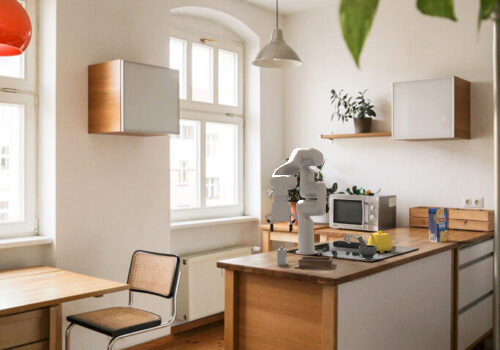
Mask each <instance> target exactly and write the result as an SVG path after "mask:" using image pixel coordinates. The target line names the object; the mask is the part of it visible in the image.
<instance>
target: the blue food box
mask: <svg viewBox="0 0 500 350" xmlns="http://www.w3.org/2000/svg"><path fill="white" fill-rule="evenodd" d="M427 210H428V212H427V213H428V216H427V217H428V242H433V243H441V242H447V241H448V208H447V207H431V208H428V209H427Z"/></svg>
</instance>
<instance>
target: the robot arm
mask: <svg viewBox="0 0 500 350" xmlns="http://www.w3.org/2000/svg"><path fill="white" fill-rule="evenodd" d="M323 163H324V155H323V153H322V151H320V150H318V149H316V148H313V147H304V148H302V147H301V148H299V147H298V148H295V149H294V150H293V151H292V153H291V154H290V156H289V159H288V161H287V162H286V163H284V164H283V165H281V166H278V167H277V168H276V169H275V170H274V172H273V174H272V175H271V178H270V182H269V184H270V187H271V188H272V189H273V201H272V204H271V212H270V213H268V214H266V215H265V216H264V218H265V220H266V222H267V223H268V224H269V230H270V233H273V232H274V230H275V229H274V228H275V227H274V222H288V223H289V225H288V226H289V228H288V231H289V232H288V233H292V231H294V230H293V229H294V228H293V225H294V223H295V222H296V221H297V240H298V241H297V242H298V243H297V245H298V246H297V247H298V249H297V250H295V254H297V255H302V256H304V255H305V256H309V255H316V254H318V251H317V250H315V223H314V221H313V219H312V218H311V217H323V216H324V215H325V214H326V210H327V208H326V207H327V186H326V183H324V182H322V181H315V178H316V177H315V176H316V174H315V171H314V170H313V169H312V168H311V167H320V166H321V165H323ZM298 173H299V175H300V178H299V179H300V180H299V195H300V197H302V198H305V199H301V200H298V201H297V202H296V204H295V210H296V211H295V212H296V214H294V212H292V209H291V202H290V201H291V200H292V197H291V196H289V190H293V189H296V187H297V185H298V180H297V177H296V176H294V175H296V174H298ZM308 198H309V199H308ZM315 198H316V199H315ZM269 217H271V218H269ZM292 217H293V219H292Z"/></svg>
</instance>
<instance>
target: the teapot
mask: <svg viewBox="0 0 500 350" xmlns="http://www.w3.org/2000/svg"><path fill="white" fill-rule="evenodd" d="M367 242H368V243H366V245H373V246H377V252H379V253H380V254H384V253H385V251H390V250H392V248H393V242H392V238H391V236H390V234H389V233H383V231H382V230H377V231H376V232H373V233H369V236H368V239H367ZM383 252H384V253H383Z"/></svg>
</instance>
